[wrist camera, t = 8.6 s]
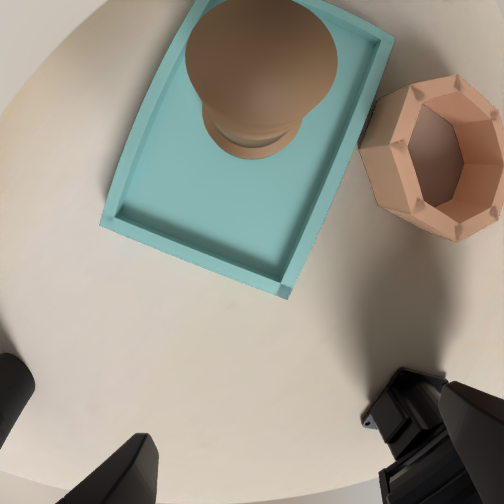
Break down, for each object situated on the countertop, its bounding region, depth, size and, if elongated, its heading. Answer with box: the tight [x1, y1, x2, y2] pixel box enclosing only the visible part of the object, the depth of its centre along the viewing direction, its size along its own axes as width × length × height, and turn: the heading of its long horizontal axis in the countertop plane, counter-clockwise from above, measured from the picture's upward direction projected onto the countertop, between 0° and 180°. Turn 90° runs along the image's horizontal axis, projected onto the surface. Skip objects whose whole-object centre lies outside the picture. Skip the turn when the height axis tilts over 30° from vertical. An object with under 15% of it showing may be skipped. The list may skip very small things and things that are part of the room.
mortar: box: [359, 74, 504, 243], centre depth 17 cm, size 9×9×4 cm
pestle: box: [185, 0, 338, 160], centre depth 12 cm, size 5×5×10 cm
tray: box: [99, 0, 395, 300], centre depth 17 cm, size 12×18×2 cm, turn 157°
